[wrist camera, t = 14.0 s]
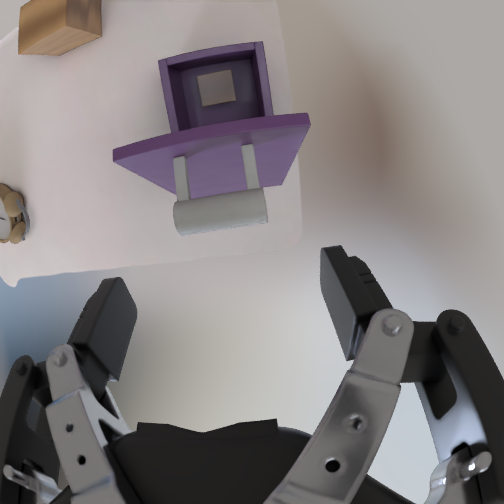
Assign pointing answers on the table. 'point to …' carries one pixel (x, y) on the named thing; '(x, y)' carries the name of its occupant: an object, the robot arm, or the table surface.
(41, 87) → the table surface
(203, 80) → the block
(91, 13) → the stand
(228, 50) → the box
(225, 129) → the lid
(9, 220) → the alarm clock
